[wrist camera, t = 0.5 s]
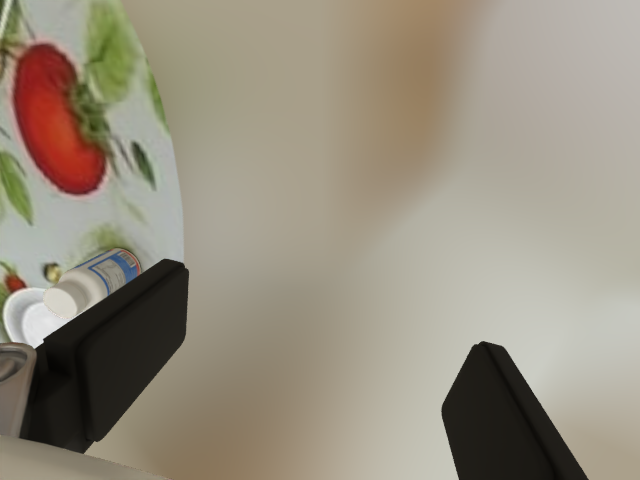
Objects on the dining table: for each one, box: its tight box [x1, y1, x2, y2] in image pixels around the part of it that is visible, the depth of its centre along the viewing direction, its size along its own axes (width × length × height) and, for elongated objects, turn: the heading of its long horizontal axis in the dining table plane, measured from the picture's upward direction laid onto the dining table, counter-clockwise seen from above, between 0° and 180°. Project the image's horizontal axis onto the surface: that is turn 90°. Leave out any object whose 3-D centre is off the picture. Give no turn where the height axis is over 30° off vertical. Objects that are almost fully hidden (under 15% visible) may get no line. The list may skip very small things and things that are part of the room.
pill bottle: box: [43, 248, 141, 319], centre depth 37 cm, size 6×5×10 cm
